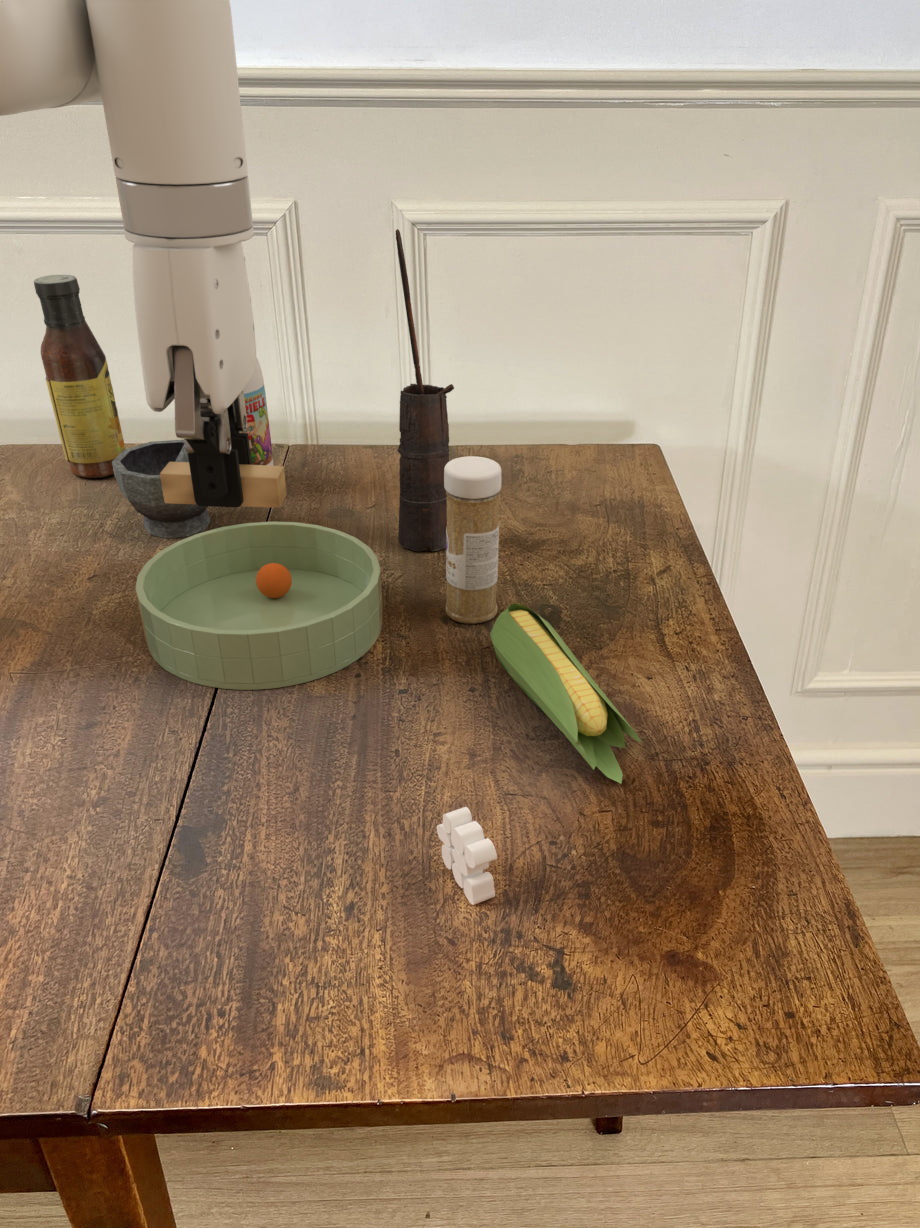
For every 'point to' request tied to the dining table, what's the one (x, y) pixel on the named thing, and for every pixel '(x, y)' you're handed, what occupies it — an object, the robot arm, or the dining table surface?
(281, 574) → the ball
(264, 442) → the milk bottle
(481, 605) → the spice jar
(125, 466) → the mortar and pestle
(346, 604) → the bowl
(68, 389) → the sauce bottle
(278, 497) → the wooden block
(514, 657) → the edible corn
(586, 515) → the dining table surface
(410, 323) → the butter churn
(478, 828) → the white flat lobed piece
